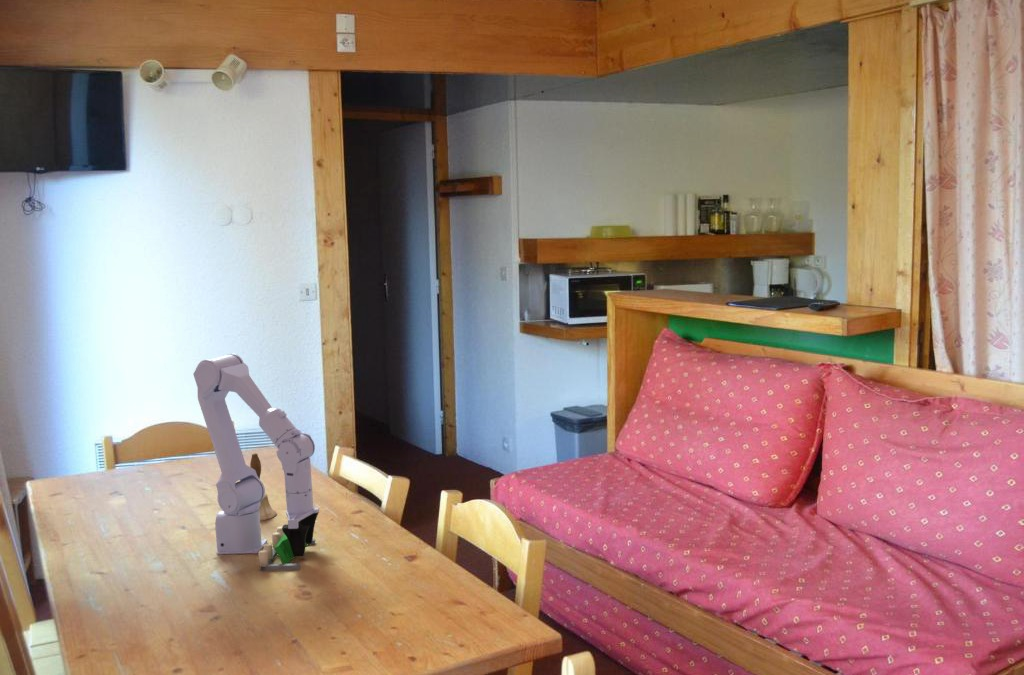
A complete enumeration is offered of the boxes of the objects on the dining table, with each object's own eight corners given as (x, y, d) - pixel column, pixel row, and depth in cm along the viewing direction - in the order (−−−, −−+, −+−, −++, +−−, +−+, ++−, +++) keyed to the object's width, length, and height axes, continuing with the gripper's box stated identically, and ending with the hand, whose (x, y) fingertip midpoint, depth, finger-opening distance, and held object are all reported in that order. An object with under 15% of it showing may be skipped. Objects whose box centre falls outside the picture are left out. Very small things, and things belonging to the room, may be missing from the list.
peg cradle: (258, 571, 205) (257, 553, 205) (278, 543, 222) (277, 526, 222) (298, 570, 205) (297, 552, 205) (315, 542, 222) (314, 525, 221)
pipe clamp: (299, 559, 208) (289, 540, 207) (283, 566, 208) (274, 548, 207) (310, 540, 219) (301, 523, 218) (295, 547, 219) (286, 530, 219)
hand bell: (235, 519, 240) (230, 457, 238) (256, 509, 248) (251, 448, 246) (263, 522, 237) (258, 459, 235) (283, 512, 245) (279, 451, 243)
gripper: (309, 499, 204) (314, 561, 206) (323, 479, 219) (327, 537, 220) (276, 500, 204) (281, 562, 206) (292, 480, 219) (296, 538, 221)
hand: (303, 549), depth 213 cm, fingers open, 7 cm apart
